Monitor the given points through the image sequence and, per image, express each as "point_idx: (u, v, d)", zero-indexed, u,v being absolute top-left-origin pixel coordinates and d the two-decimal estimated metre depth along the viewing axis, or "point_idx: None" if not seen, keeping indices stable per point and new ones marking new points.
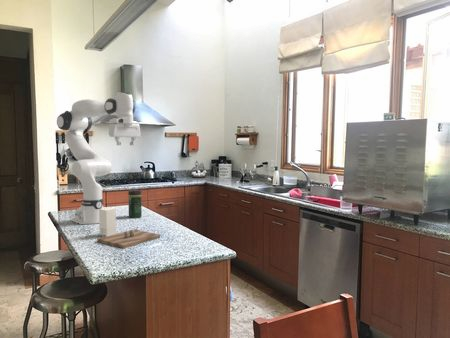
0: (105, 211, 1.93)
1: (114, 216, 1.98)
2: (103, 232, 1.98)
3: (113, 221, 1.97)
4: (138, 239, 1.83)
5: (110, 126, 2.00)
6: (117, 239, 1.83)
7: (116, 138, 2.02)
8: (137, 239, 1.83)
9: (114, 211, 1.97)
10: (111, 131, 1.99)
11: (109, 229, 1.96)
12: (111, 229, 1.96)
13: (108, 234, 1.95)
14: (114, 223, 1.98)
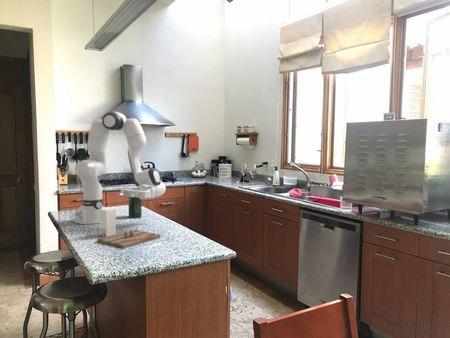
0: (105, 211, 1.93)
1: (114, 216, 1.98)
2: (103, 232, 1.98)
3: (113, 221, 1.97)
4: (138, 239, 1.83)
5: (150, 192, 2.09)
6: (117, 239, 1.83)
7: (138, 195, 2.06)
8: (137, 239, 1.83)
9: (114, 211, 1.97)
10: (147, 195, 2.07)
11: (109, 229, 1.96)
12: (111, 229, 1.96)
13: (108, 234, 1.95)
14: (114, 223, 1.98)
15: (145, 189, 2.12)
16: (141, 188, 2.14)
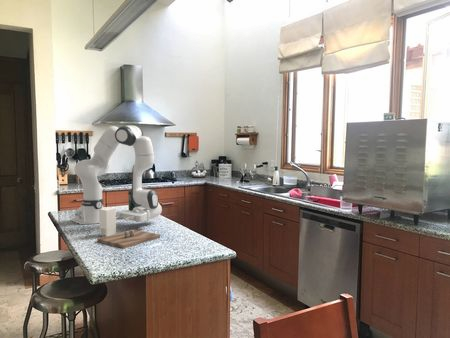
0: (105, 211, 1.93)
1: (114, 216, 1.98)
2: (103, 232, 1.98)
3: (113, 221, 1.97)
4: (138, 239, 1.83)
5: (145, 216, 2.08)
6: (117, 239, 1.83)
7: (133, 218, 2.04)
8: (137, 239, 1.83)
9: (114, 211, 1.97)
10: (143, 218, 2.05)
11: (109, 229, 1.96)
12: (111, 229, 1.96)
13: (108, 234, 1.95)
14: (114, 223, 1.98)
15: (141, 212, 2.10)
16: (137, 211, 2.12)
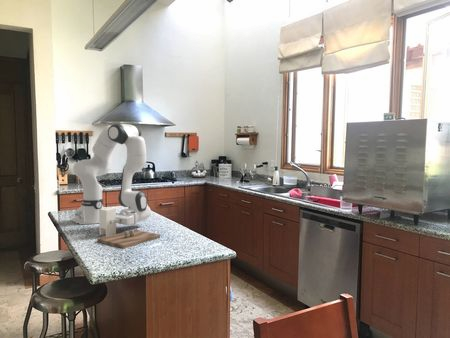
0: (105, 211, 1.93)
1: (114, 216, 1.98)
2: (103, 232, 1.98)
3: None
4: (138, 239, 1.83)
5: (133, 218, 2.00)
6: (117, 239, 1.83)
7: (118, 221, 1.97)
8: (137, 239, 1.83)
9: (114, 211, 1.97)
10: (129, 221, 1.98)
11: (109, 229, 1.96)
12: (111, 229, 1.96)
13: (108, 234, 1.95)
14: (114, 223, 1.98)
15: (128, 215, 2.03)
16: (124, 213, 2.04)
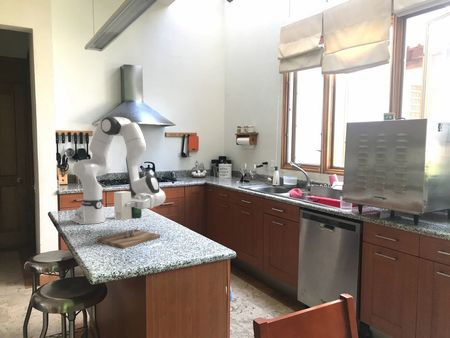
0: (120, 194, 1.86)
1: (129, 199, 1.90)
2: (118, 216, 1.91)
3: None
4: (138, 239, 1.83)
5: (148, 202, 1.92)
6: (117, 239, 1.83)
7: (134, 205, 1.90)
8: (137, 239, 1.83)
9: (129, 194, 1.90)
10: (145, 205, 1.90)
11: (125, 213, 1.88)
12: (126, 213, 1.89)
13: (124, 218, 1.87)
14: (129, 207, 1.90)
15: (143, 198, 1.95)
16: (139, 197, 1.97)
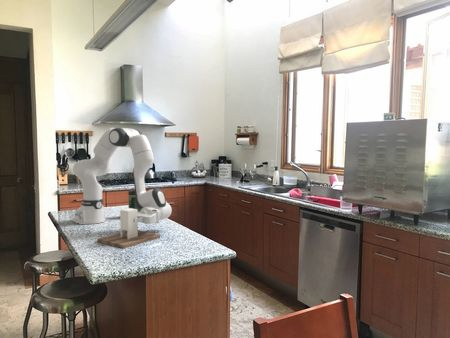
0: (127, 212, 1.84)
1: (136, 217, 1.88)
2: (124, 234, 1.89)
3: None
4: (138, 239, 1.83)
5: (155, 217, 1.90)
6: (117, 239, 1.83)
7: (142, 220, 1.87)
8: (137, 239, 1.83)
9: (136, 212, 1.88)
10: (152, 220, 1.88)
11: (131, 231, 1.86)
12: (133, 231, 1.87)
13: (130, 236, 1.85)
14: (136, 224, 1.88)
15: (150, 213, 1.93)
16: (145, 211, 1.95)
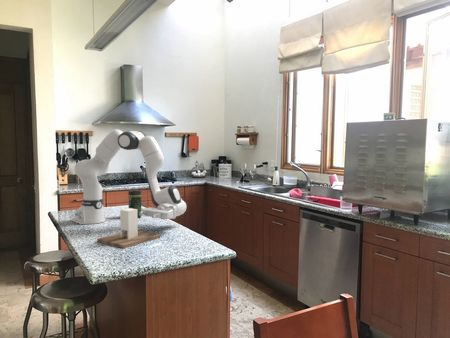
0: (127, 212, 1.84)
1: (136, 217, 1.88)
2: (124, 234, 1.89)
3: (135, 222, 1.88)
4: (138, 239, 1.83)
5: (172, 213, 2.01)
6: (117, 239, 1.83)
7: (160, 216, 1.97)
8: (137, 239, 1.83)
9: (136, 212, 1.88)
10: (169, 216, 1.98)
11: (131, 231, 1.86)
12: (133, 231, 1.87)
13: (130, 236, 1.85)
14: (136, 224, 1.88)
15: (167, 209, 2.03)
16: (162, 208, 2.05)
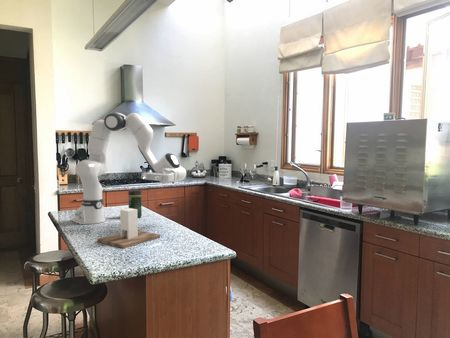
0: (127, 212, 1.84)
1: (136, 217, 1.88)
2: (124, 234, 1.89)
3: (135, 222, 1.88)
4: (138, 239, 1.83)
5: (173, 176, 2.07)
6: (117, 239, 1.83)
7: (161, 178, 2.04)
8: (137, 239, 1.83)
9: (136, 212, 1.88)
10: (170, 178, 2.05)
11: (131, 231, 1.86)
12: (133, 231, 1.87)
13: (130, 236, 1.85)
14: (136, 224, 1.88)
15: (167, 173, 2.10)
16: (163, 172, 2.12)
